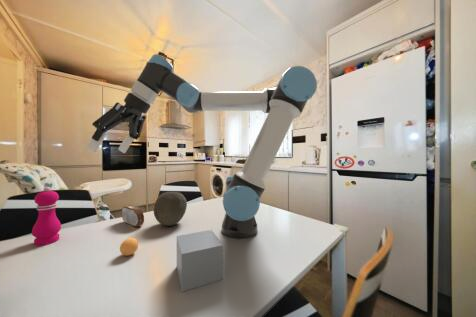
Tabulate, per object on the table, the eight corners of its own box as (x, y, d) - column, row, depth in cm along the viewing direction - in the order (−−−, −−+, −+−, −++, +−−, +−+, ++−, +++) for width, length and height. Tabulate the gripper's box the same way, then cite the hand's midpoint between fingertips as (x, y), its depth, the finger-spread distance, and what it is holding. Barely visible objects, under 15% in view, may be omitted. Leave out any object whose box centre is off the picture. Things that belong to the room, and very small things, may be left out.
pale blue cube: (211, 258, 54) (211, 229, 54) (222, 279, 45) (223, 244, 45) (176, 266, 50) (176, 236, 50) (181, 291, 41) (181, 254, 41)
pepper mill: (46, 237, 67) (46, 185, 67) (66, 236, 68) (66, 185, 68) (25, 247, 60) (24, 188, 60) (48, 246, 61) (47, 188, 60)
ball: (138, 248, 59) (138, 234, 59) (137, 256, 55) (137, 240, 55) (121, 252, 57) (121, 236, 57) (118, 260, 53) (118, 243, 53)
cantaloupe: (186, 228, 76) (186, 194, 76) (150, 232, 72) (151, 196, 72) (186, 217, 90) (186, 188, 90) (156, 220, 86) (156, 189, 86)
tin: (144, 227, 78) (144, 208, 78) (137, 229, 75) (137, 209, 75) (127, 220, 86) (127, 203, 86) (120, 222, 83) (120, 204, 83)
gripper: (150, 103, 73) (123, 147, 73) (103, 75, 48) (62, 140, 48) (165, 113, 73) (138, 156, 73) (126, 89, 48) (85, 155, 48)
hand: (107, 150), depth 61 cm, fingers open, 13 cm apart
